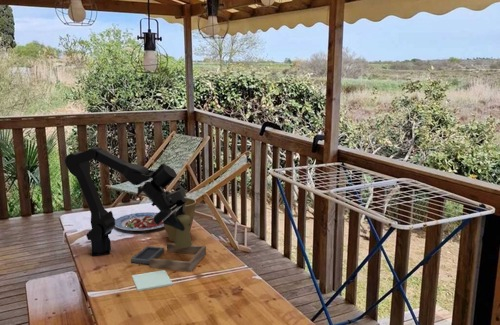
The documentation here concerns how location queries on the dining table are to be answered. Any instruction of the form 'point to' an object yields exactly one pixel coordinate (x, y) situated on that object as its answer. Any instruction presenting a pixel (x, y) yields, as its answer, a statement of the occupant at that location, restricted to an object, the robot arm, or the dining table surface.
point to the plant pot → (189, 211)
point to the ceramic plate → (138, 222)
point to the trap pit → (147, 255)
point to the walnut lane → (180, 265)
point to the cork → (183, 233)
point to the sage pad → (151, 280)
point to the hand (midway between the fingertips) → (186, 227)
